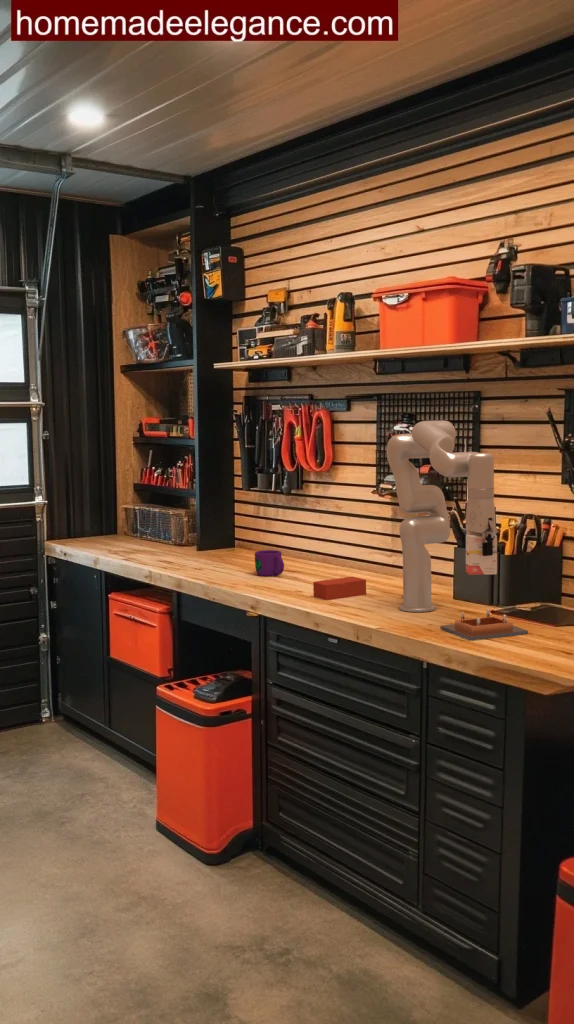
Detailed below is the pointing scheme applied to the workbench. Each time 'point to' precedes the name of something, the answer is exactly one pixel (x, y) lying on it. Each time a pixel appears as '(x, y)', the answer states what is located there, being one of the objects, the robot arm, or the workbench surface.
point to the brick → (339, 588)
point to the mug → (268, 563)
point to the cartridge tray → (483, 627)
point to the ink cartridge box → (479, 555)
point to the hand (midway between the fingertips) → (481, 553)
